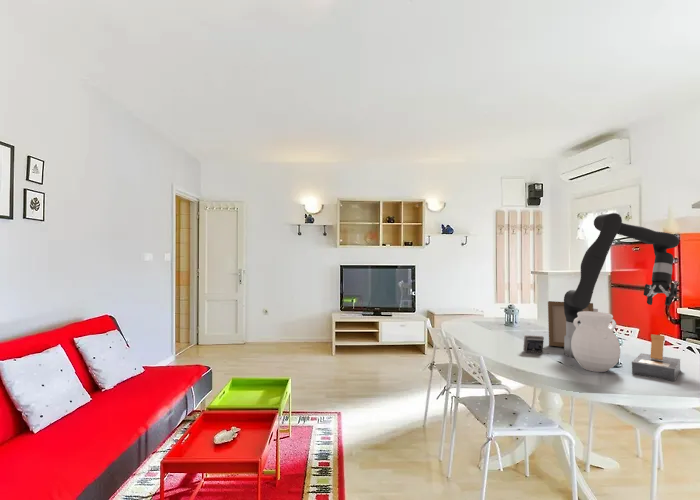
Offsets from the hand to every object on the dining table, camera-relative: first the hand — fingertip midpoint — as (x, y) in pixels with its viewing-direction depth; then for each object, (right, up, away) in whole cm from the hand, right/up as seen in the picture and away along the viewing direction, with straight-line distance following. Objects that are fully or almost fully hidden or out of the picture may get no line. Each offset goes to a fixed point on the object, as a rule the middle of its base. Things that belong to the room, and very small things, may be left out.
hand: (658, 304), depth 187 cm
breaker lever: (-18, -21, -21) cm, 35 cm away
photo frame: (-28, -27, +27) cm, 47 cm away
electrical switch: (-56, -27, +11) cm, 63 cm away
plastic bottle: (-9, -28, +35) cm, 45 cm away
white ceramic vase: (-42, -27, -17) cm, 53 cm away
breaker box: (-18, -26, -21) cm, 38 cm away
